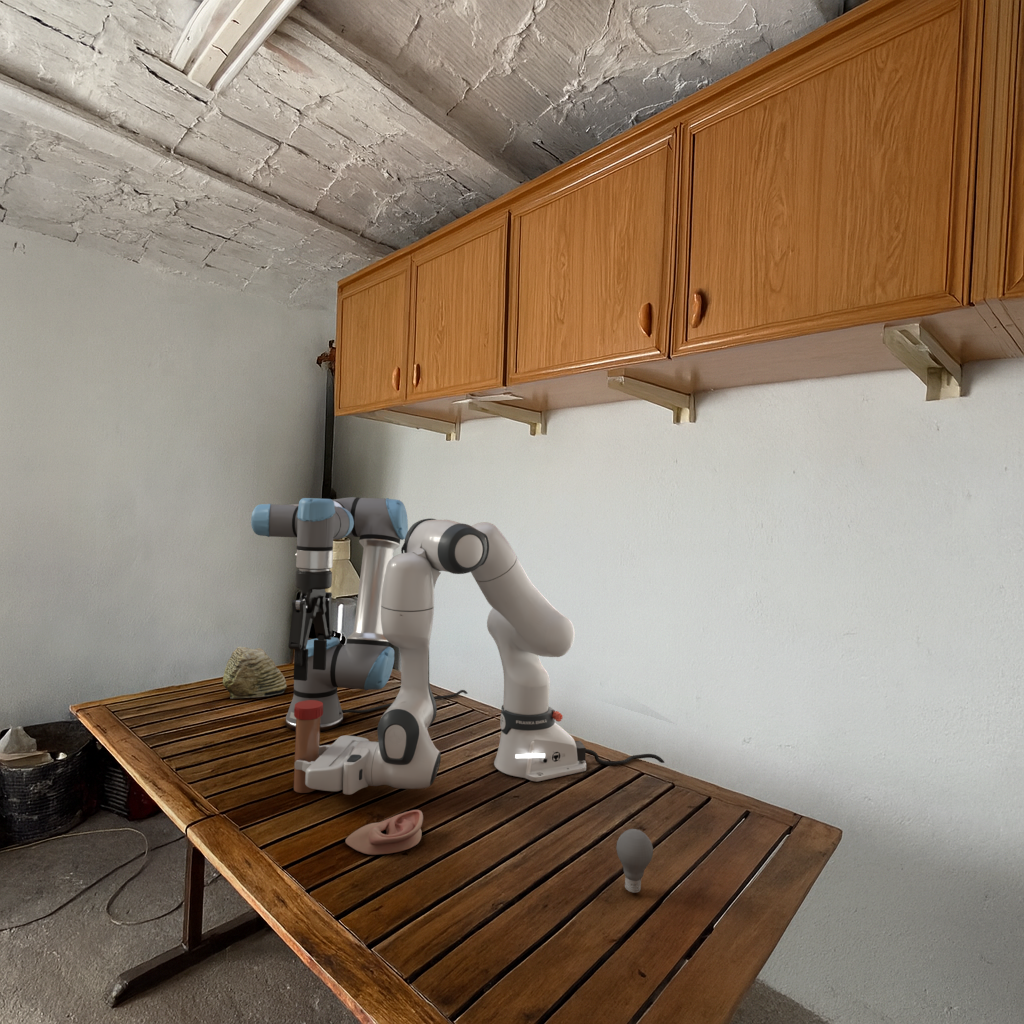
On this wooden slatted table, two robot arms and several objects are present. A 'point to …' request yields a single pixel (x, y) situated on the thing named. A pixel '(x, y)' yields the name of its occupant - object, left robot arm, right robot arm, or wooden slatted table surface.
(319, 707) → the lid
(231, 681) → the fossil
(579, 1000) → the wooden slatted table surface
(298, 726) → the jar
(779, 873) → the wooden slatted table surface
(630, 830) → the light bulb
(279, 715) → the wooden slatted table surface
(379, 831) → the anatomical model
